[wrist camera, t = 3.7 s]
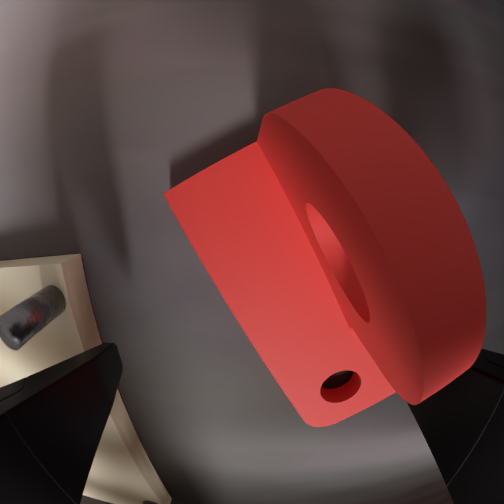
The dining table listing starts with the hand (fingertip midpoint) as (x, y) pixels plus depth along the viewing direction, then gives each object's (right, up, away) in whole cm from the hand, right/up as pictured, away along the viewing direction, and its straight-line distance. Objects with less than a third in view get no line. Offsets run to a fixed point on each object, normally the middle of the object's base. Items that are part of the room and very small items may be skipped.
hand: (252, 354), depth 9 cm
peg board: (-15, -6, +4) cm, 17 cm away
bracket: (+2, +1, +3) cm, 4 cm away
